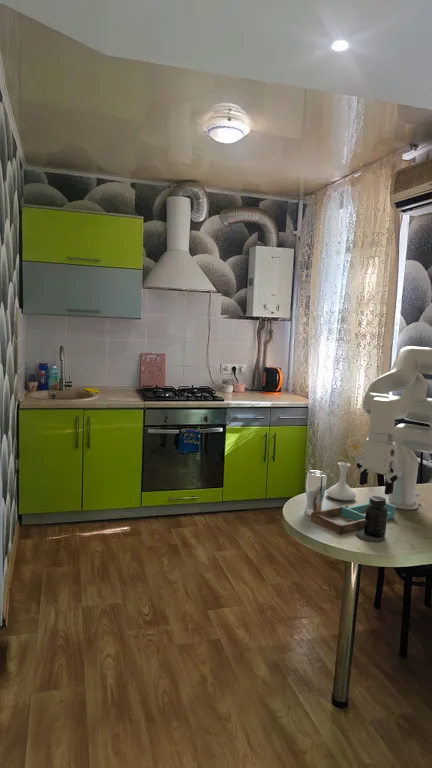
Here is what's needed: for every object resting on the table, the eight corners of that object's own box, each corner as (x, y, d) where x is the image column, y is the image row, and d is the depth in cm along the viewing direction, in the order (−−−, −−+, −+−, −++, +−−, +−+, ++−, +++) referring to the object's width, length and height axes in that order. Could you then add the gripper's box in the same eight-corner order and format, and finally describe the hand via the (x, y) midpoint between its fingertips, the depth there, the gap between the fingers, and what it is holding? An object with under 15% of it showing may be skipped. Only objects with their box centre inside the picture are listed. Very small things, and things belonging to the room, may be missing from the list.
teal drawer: (369, 507, 194) (371, 497, 194) (394, 517, 186) (395, 506, 185) (340, 515, 184) (341, 503, 184) (364, 525, 176) (365, 513, 175)
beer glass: (323, 518, 181) (327, 476, 179) (303, 516, 182) (307, 474, 180) (322, 511, 187) (326, 471, 186) (303, 509, 189) (307, 469, 187)
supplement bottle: (358, 531, 169) (362, 496, 168) (372, 528, 173) (376, 493, 172) (375, 539, 164) (379, 503, 162) (389, 536, 167) (393, 500, 166)
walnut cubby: (345, 512, 188) (346, 504, 188) (375, 525, 177) (376, 517, 177) (310, 521, 177) (311, 512, 177) (340, 535, 167) (341, 526, 167)
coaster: (367, 529, 174) (367, 527, 173) (390, 539, 166) (390, 537, 166) (349, 534, 168) (349, 532, 168) (372, 544, 161) (372, 542, 161)
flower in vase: (325, 500, 200) (331, 437, 197) (326, 491, 211) (332, 431, 208) (360, 505, 197) (367, 441, 194) (359, 496, 208) (365, 435, 205)
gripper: (411, 442, 159) (406, 495, 161) (366, 429, 173) (361, 479, 175) (397, 444, 155) (391, 499, 157) (351, 432, 168) (346, 482, 171)
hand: (375, 488), depth 166 cm, fingers open, 9 cm apart
